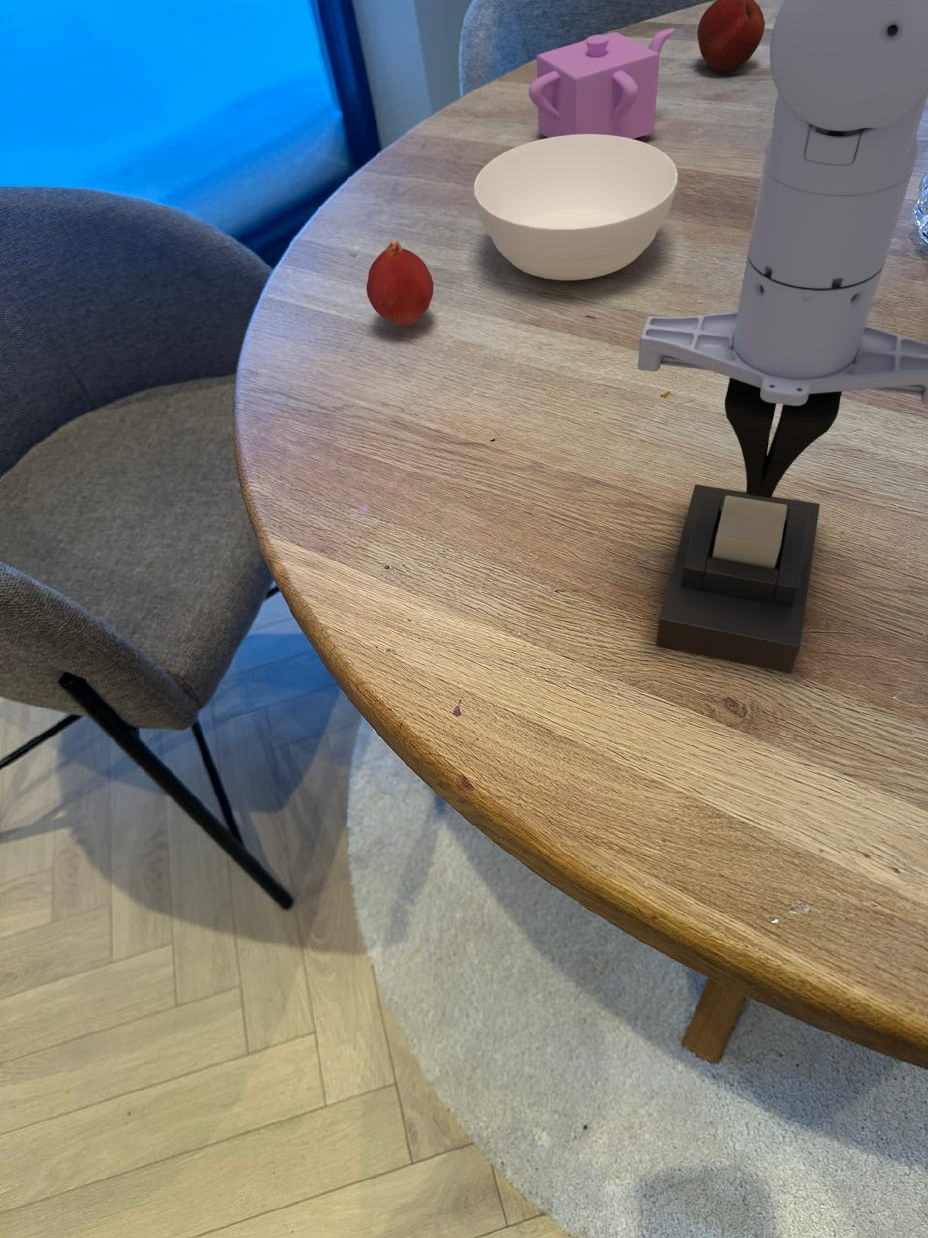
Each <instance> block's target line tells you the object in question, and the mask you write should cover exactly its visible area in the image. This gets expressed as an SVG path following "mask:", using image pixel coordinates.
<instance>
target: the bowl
mask: <svg viewBox="0 0 928 1238" xmlns="http://www.w3.org/2000/svg"><path fill="white" fill-rule="evenodd" d="M678 180H679V173H678V170H677V167H676V164H675V162H674V161H673V160H672V159H671V158H670V157H669V156H668V154H666V153H665V152H663V151H662V150H660V149H659V148H657V147H656V146H653V145H650V144H648V143H646V142H643V141H640V140H638V139H630V138H625V137H619V136H612V135H598V134H579V135H566V136H558V137H551V138H548V137H546V138H542V139H537V140H534V141H531V142H530V141H529V142H528V143H524V144H521V145H518V146H516V147H514V148H510V149H509V150H507V151H504V152H503V153H501V154H499V155H498V156H496V157H495V158H493V159H492V160H489V162H488V163H487V164H486V165H485V166H484V167H482V169H481V170H480V171H479V173H478V174H477V176H476V178H475V180H474V185H473V196H474V201H475V205H476V208H477V212H478V215H479V219H480V222H481V225H482V228H483V229H484V231H485V233H486V234H487V235H488V236H489V237H490V238H491V239H492V242H493V244H494V246H495V247H496V250H498V252H499V253H500V254H501V255H502V256H503V257H504V258H505V259H507V261H509V262H510V263H511V264H512V266H514V267H515V268H517V269H518V270H520V271H522V272H524V273H525V274H526V273H527V274H529V275H532V276H534V277H538V278H542V279H547V280H556V281H579V280H588V279H593V278H598V277H603V276H607V275H609V274H612V273H615V272H617V271H619V270H621V269H623V268H625V267H627V266H628V265H630V264H631V263H633V262H634V261H635V260H636V259H637V258H638V257H639V256H640V255H642V254H643V252H645V250H646V249H647V248H648V247H649V246H650V245H651V243H652V242H654V240H655V237H656V235H657V233H658V231H659V229H660V228H662V226H663V225H664V224H665V222H666V221H667V218H668V216H669V214H670V211H671V208H672V205H673V202H674V201H673V200H674V197H675V194H676V190H677V187H678V185H679V183H678Z"/></svg>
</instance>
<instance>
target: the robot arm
mask: <svg viewBox="0 0 928 1238" xmlns="http://www.w3.org/2000/svg"><path fill="white" fill-rule="evenodd" d="M769 45H770V46H769V63H770V71H771V72H770V73H771V76H772V79H773V82H774V86H775V88H776V90H777V93H778V94H777V97H776V100H775V105H774V112H773V113H774V117H773V124H772V129H771V130H772V131H771V135H770V138H769V139H768V141H767V142H766V143H767V144H766V146H765V150H764V155H763V161H762V167H761V174H760V180H759V185H758V191H757V197H756V202H755V209H754V215H753V219H752V225H751V231H750V238H749V244H748V251H747V255H746V261H745V267H744V273H743V280H742V285H741V291H740V298H739V302H738V307H737V308H738V309H737V311H731V312H721V313H711V314H701V315H699V314H698V315H689V316H655V315H653V316H652V315H649V316H647V318H646V320H645V323H644V326H643V329H642V332H641V334H640V336H639V347H638V348H639V349H638V361H637V369H638V370H640V371H646V372H657V371H659V370H660V369H661V367H662V366H669V367H670V366H671V367H677V368H686V369H693V370H703V371H709V372H710V371H711V372H714V373H716V374H719V375H722V376H726V377H728V378H729V379H728V384H727V389H726V394H725V398H724V411H725V416H726V419H727V421H728V422H729V424H730V426H731V427H732V430H733V431H734V434H735V437H736V438H737V441H738V443H739V446H740V450H741V455H742V457H743V463H744V468H745V476H746V487H745V488H746V489H745V492H746V494H747V495H753V496H759V497H766V498H771V497H772V496H773V495H774V492H775V490H776V488H777V486H778V485H779V483H780V481H781V480H782V478H783V477H784V475H785V473H786V472H787V471H788V470H789V468H790V467H791V465H792V464H794V462H795V460H797V458H798V457H800V455H801V454H802V453H803V452H804V451H805V450H806V449H807V448H808V447H810V445H811V444H813V443H814V442H815V441H816V440H817V439H819V438H820V437H822V436H823V435H824V434H826V433H827V432H828V431H829V430H830V429H831V427H832V426H833V424H834V423H835V421H836V419H837V418H838V414H839V411H840V404H841V398H842V394H843V392H849V391H859V390H860V391H861V390H870V391H879V392H887V393H896V394H904V395H914V396H921V397H920V401H921V403H922V404H924V405H927V406H928V342H925V341H923V340H922V341H921V340H917V339H913V338H910V337H907V336H905V335H900V334H897V333H894V332H890V331H887V330H883V329H880V328H877V327H874V326H870V325H867V322H868V319H869V316H870V312H871V309H872V306H873V302H874V299H875V296H876V292H877V290H878V285H879V283H880V279H881V276H882V273H883V269H884V267H885V262H886V260H887V256H888V253H889V249H890V246H891V243H892V240H893V237H894V233H895V231H896V230H895V229H896V227H897V223H898V220H899V216H900V214H901V211H902V207H903V204H904V201H905V197H906V194H907V190H908V188H909V185H910V182H911V178H912V174H913V171H914V167H915V165H916V161H917V158H918V152H919V151H918V149H919V146H918V139H917V137H918V130H919V128H920V124H921V120H922V118H923V113H924V110H925V108H926V103H927V100H928V0H783V1H782V3H781V5H780V8H779V9H778V13H777V15H776V17H775V20H774V24H773V27H772V32H771V36H770V44H769ZM777 405H782V407H781V412H780V414H779V415H780V416H779V419H778V423H777V426H776V428H775V432H774V435H773V438H772V440H771V443H770V434H771V431H772V426H773V423H774V418H775V413H776V409H777V408H776V407H777ZM769 443H770V446H769Z"/></svg>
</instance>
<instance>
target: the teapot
mask: <svg viewBox="0 0 928 1238" xmlns="http://www.w3.org/2000/svg"><path fill="white" fill-rule="evenodd" d="M674 32H676V28H674V27H671V28H667V29H663V30H661V31H659V32H657V33H656V34H655V35H654V36H653V38H652V39H651V41H650V42H649V44H648V47H647V46H646V45H643V44H641V43H639V42H637V41H635V40H633V39H631V38H629V37H627V36H625V35H623V34H621V33H619V32H617V31H614V32H611V33H606V34H593V35H591V36H588V37H587V38H585V40H582V41H580V42H576V43H572V44H569V45H566V46H562V47H559V48H555V49H552V50H549V51H545V52H542V53H538V54H537V55H536V79H534V80H533V81H532V83H530V85H529V87H528V89H527V90H528V91H527V92H528V97H529V99H530V100H531V102H532V103H533V105H534V106H535V107H536V108H537V124H538V125H537V127H538V129H537V130H538V132H539V133H540V134H542V135H544V137H546V138H551V137H558V136H566V135H579V134H598V135H612V136H619V137H625V138H630V139H633V140H635V139H637V138H640V137H643V136H647V135H649V134H653V133H655V125H656V111H657V110H656V109H657V97H658V82H659V72H660V71H659V69H660V59H661V58H660V54H661V51H662V49H663V47H664V45H665V43H666V42H667V39H669V37H670V36H671V35H672V34H673V33H674Z"/></svg>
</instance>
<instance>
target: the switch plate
mask: <svg viewBox="0 0 928 1238" xmlns="http://www.w3.org/2000/svg"><path fill="white" fill-rule="evenodd" d="M726 496H733V497H740V498H746V499H752V500H759V501H765V502H771V503H778V504H784V505H787V511H786V517H785V523H784V528H783V534H782V540H781V546H780V550H779V554H778V557H777V561H776V564H775V568H774V569H770V568H765V567H759V566H753V565H748V564H742V563H737V562H731V561H726V560H720V559H714V558H713V557H712V556H713V551H714V546H715V541H716V536H717V531H718V527H719V523H720V518H721V514H722V510H723V505H724V501H725V497H726ZM820 506H821V504H820V503H816V502H810V501H804V500H798V499H791V498H786V497H780V496H779V497H778V496H773V495H772V497H771V498H766V497H759V496H753V495H747V494H746V491H741V490H734V489H727V488H722V487H717V486H716V487H715V486H710V485H704V484H703V485H701V484H694V487H693V490H692V495H691V498H690V502H689V506H688V509H687V514H686V517H685V521H684V525H683V529H682V532H681V535H680V540H679V543H678V548H677V551H676V555H675V559H674V562H673V566H672V569H671V573H670V577H669V581H668V585H667V589H666V593H665V596H664V600H663V604H662V608H661V611H660V616H659V619H658V627H657V635H656V643H655V645H656V646H658V647H662V648H668V649H672V650H676V651H681V652H686V653H691V654H695V655H700V656H706V657H710V658H714V659H719V660H720V659H721V660H724V661H728V662H734V663H739V664H743V665H749V666H752V667H757V668H762V669H767V670H770V671H776V672H781V673H786V674H792V671H793V669H794V667H795V666H794V665H795V663H796V660H797V658H798V655H799V652H800V649H801V645H802V637H803V631H804V623H805V616H806V607H807V600H808V595H809V593H808V592H809V586H810V581H811V579H810V578H811V574H812V573H811V571H812V565H813V556H814V550H815V544H816V536H817V529H818V521H819V514H820Z"/></svg>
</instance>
